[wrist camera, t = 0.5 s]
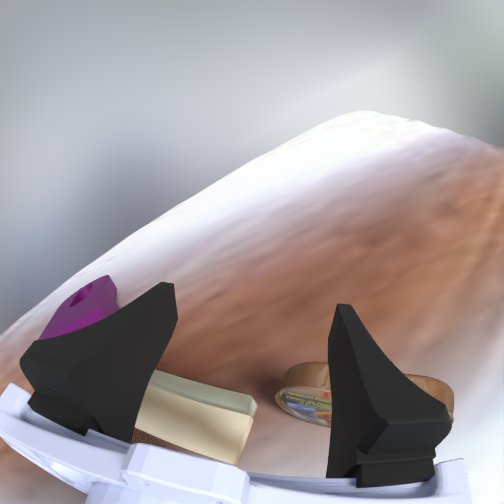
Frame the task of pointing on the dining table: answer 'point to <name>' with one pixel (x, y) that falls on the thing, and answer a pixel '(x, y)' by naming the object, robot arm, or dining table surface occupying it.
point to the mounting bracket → (83, 308)
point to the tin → (319, 392)
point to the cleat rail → (197, 416)
